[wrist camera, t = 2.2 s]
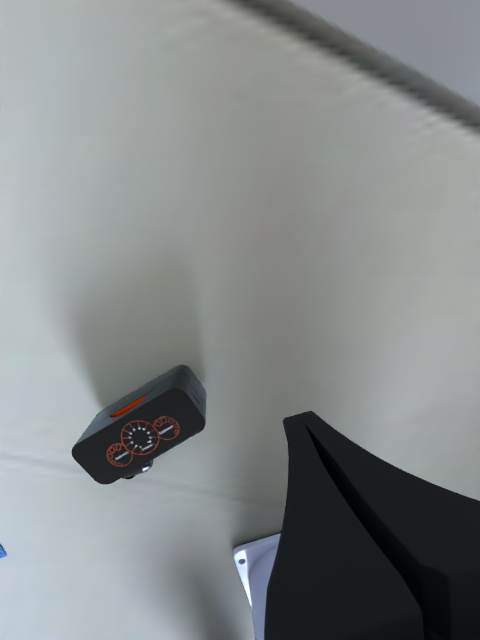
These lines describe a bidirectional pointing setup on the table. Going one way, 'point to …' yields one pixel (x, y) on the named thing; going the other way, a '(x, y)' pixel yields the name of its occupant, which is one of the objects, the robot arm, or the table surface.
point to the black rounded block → (142, 426)
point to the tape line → (2, 552)
